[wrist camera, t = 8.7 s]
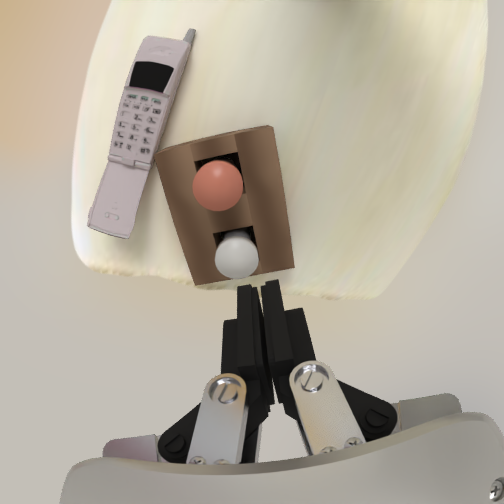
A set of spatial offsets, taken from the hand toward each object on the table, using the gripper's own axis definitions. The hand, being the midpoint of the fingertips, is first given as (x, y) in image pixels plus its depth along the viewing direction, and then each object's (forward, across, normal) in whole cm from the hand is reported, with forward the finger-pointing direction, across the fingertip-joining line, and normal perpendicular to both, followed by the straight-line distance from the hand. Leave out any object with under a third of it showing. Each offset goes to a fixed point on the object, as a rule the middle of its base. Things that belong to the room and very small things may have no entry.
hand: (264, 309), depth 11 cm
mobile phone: (+24, +11, -9) cm, 28 cm away
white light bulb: (+22, +3, +7) cm, 24 cm away
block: (+23, +3, +3) cm, 23 cm away
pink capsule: (+22, +3, -1) cm, 22 cm away
